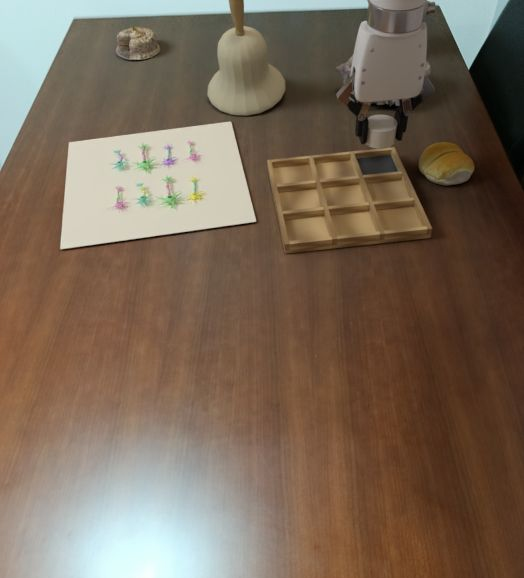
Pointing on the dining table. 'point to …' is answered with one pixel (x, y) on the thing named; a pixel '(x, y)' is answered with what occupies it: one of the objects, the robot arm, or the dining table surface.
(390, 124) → the white cylinder puck
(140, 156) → the printed paper
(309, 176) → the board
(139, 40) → the cake
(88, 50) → the dining table surface
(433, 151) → the bread roll
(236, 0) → the handbell
